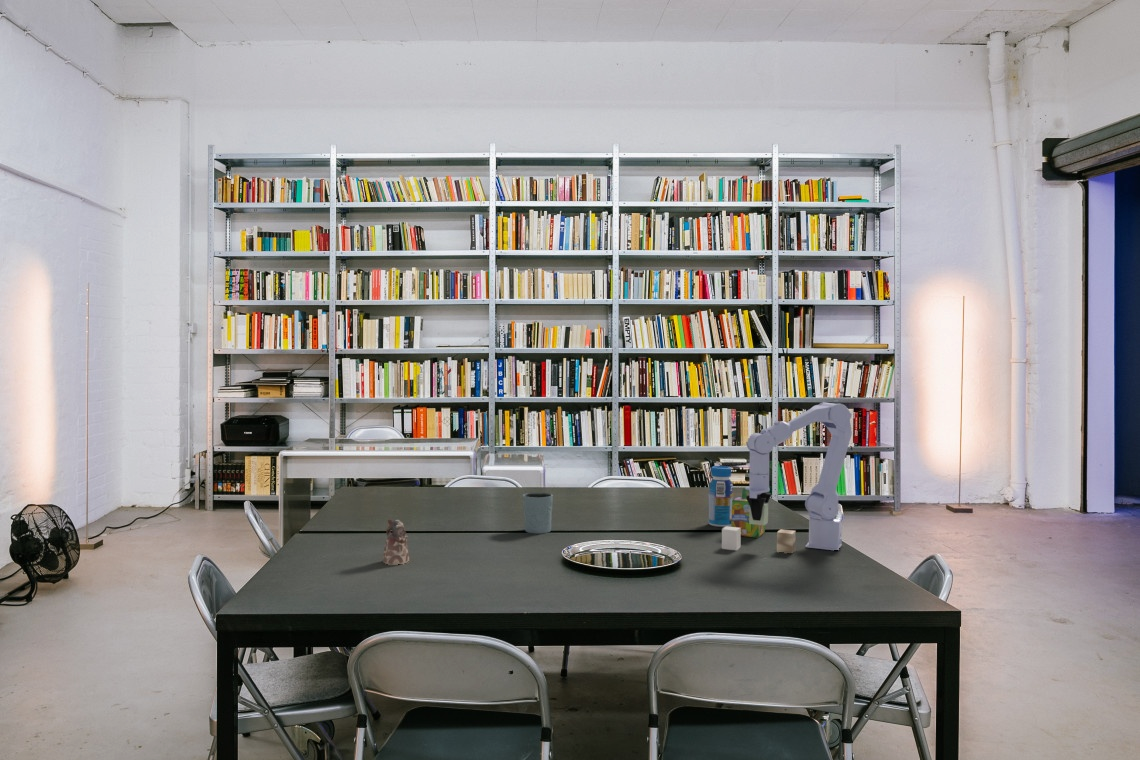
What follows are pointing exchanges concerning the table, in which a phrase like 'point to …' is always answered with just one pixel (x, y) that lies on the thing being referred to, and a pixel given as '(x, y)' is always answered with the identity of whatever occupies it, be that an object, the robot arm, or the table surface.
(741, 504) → the chalk box
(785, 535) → the birch block
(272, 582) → the table surface
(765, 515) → the sage green block
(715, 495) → the beverage bottle
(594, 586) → the table surface
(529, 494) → the blue-gray cup
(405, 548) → the figurine
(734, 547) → the off-white block
